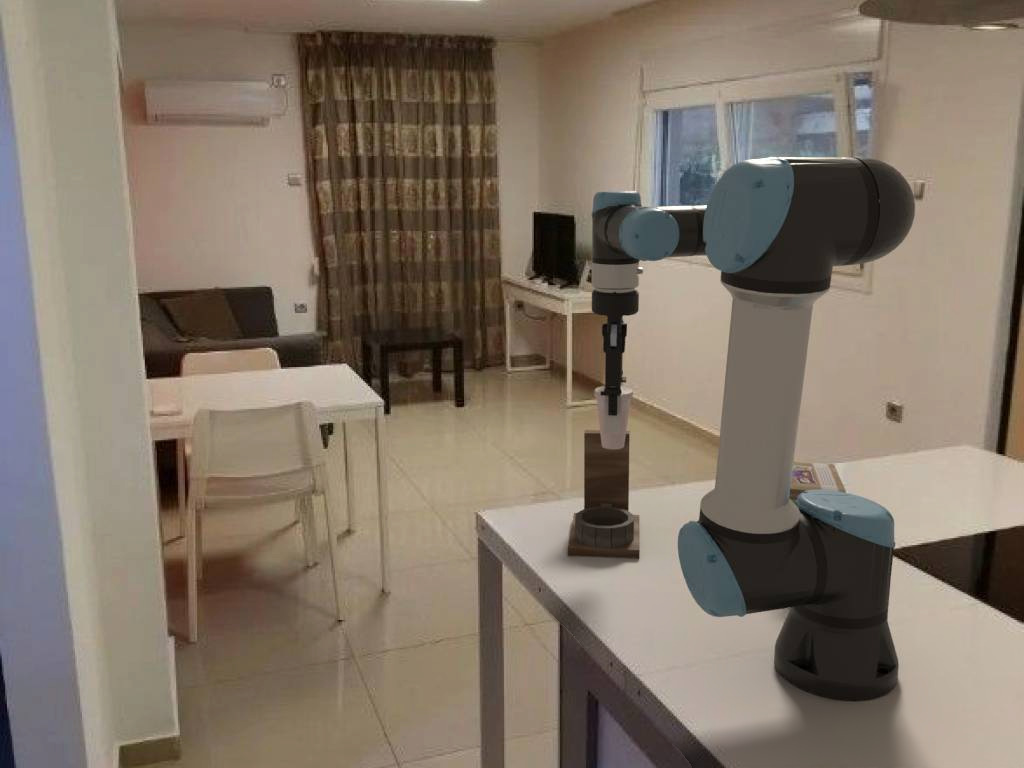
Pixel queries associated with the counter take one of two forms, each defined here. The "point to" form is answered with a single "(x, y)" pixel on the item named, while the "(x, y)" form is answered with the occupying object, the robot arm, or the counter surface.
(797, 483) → the tea box
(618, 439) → the smoothie
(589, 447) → the cup bracket
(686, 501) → the counter surface
